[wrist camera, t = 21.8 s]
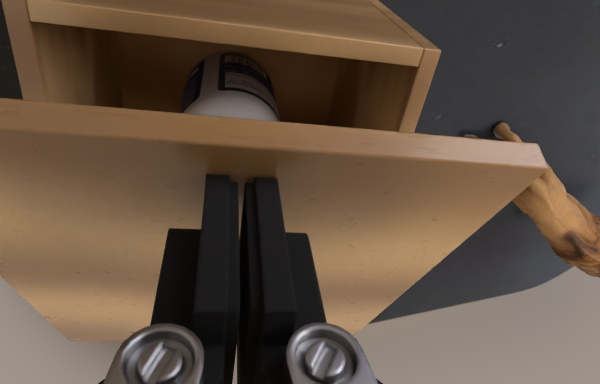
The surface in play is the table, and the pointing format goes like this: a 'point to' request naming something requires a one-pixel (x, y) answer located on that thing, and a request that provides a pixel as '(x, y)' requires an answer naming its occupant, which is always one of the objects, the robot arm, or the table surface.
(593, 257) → the lion figurine
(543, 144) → the table surface
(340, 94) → the case box
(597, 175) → the table surface
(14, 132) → the cover
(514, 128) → the table surface
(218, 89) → the pill bottle
